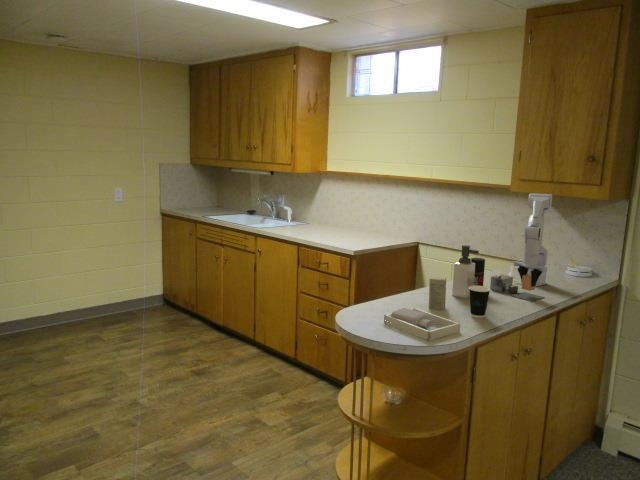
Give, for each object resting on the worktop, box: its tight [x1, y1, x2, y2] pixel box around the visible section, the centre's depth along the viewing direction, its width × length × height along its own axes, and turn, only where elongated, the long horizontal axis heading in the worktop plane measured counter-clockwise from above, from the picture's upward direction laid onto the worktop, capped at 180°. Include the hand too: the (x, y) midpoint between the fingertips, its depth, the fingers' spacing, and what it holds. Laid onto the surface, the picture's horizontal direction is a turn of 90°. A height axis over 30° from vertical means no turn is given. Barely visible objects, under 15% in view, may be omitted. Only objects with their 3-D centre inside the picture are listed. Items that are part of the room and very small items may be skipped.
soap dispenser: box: [452, 244, 480, 299], centre depth 225 cm, size 6×9×22 cm
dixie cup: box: [469, 285, 492, 319], centre depth 198 cm, size 8×8×11 cm
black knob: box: [507, 284, 519, 295], centre depth 233 cm, size 4×4×3 cm
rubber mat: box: [510, 291, 546, 302], centre depth 227 cm, size 10×10×1 cm
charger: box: [391, 307, 437, 329], centre depth 185 cm, size 5×9×15 cm
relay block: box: [520, 274, 536, 291], centre depth 226 cm, size 4×4×6 cm
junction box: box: [489, 274, 514, 294], centre depth 238 cm, size 9×7×7 cm
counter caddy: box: [383, 307, 461, 342], centre depth 185 cm, size 16×22×3 cm
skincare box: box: [428, 276, 447, 311], centre depth 208 cm, size 6×4×12 cm
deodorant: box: [470, 257, 486, 286], centre depth 233 cm, size 6×6×15 cm
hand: (528, 285), depth 226 cm, fingers closed on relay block, 4 cm apart
